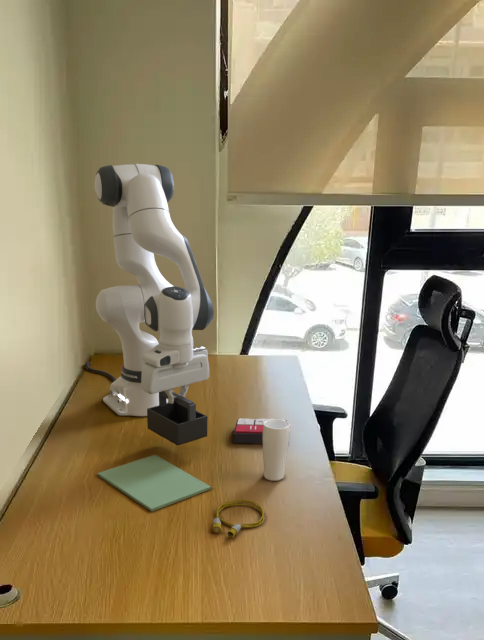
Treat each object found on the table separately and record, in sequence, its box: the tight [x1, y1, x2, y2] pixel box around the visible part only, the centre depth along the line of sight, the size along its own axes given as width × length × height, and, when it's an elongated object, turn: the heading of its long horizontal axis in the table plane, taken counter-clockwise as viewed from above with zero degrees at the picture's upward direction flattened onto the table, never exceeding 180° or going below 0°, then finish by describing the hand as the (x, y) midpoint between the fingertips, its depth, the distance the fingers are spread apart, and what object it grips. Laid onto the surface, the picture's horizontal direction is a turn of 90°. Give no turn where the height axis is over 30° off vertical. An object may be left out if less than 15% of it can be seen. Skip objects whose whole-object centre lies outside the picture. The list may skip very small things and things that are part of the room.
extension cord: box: [211, 499, 265, 538], centre depth 159 cm, size 12×16×2 cm
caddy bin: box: [146, 391, 208, 446], centre depth 187 cm, size 14×10×11 cm
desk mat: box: [97, 454, 212, 513], centre depth 174 cm, size 24×18×1 cm
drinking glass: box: [262, 418, 291, 482], centre depth 176 cm, size 7×7×15 cm
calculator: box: [233, 417, 288, 444], centre depth 201 cm, size 11×4×15 cm
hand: (176, 401), depth 185 cm, fingers closed on caddy bin
